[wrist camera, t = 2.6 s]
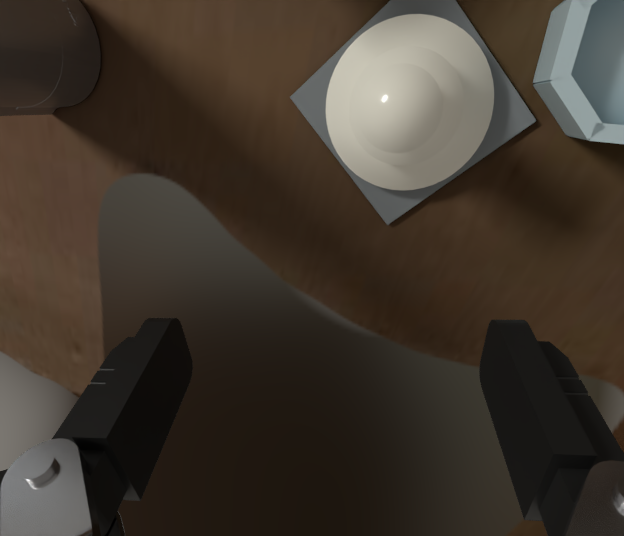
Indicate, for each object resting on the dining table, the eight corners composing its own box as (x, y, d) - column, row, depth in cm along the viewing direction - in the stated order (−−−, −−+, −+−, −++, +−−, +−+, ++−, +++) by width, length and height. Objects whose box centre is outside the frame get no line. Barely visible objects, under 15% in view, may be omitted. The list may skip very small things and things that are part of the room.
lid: (388, 216, 32) (375, 261, 23) (299, 98, 30) (245, 95, 21) (525, 119, 27) (576, 127, 18) (427, -25, 26) (431, -96, 17)
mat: (387, 223, 33) (387, 225, 32) (291, 97, 31) (289, 97, 31) (534, 120, 28) (536, 120, 27) (429, -36, 26) (430, -39, 26)
